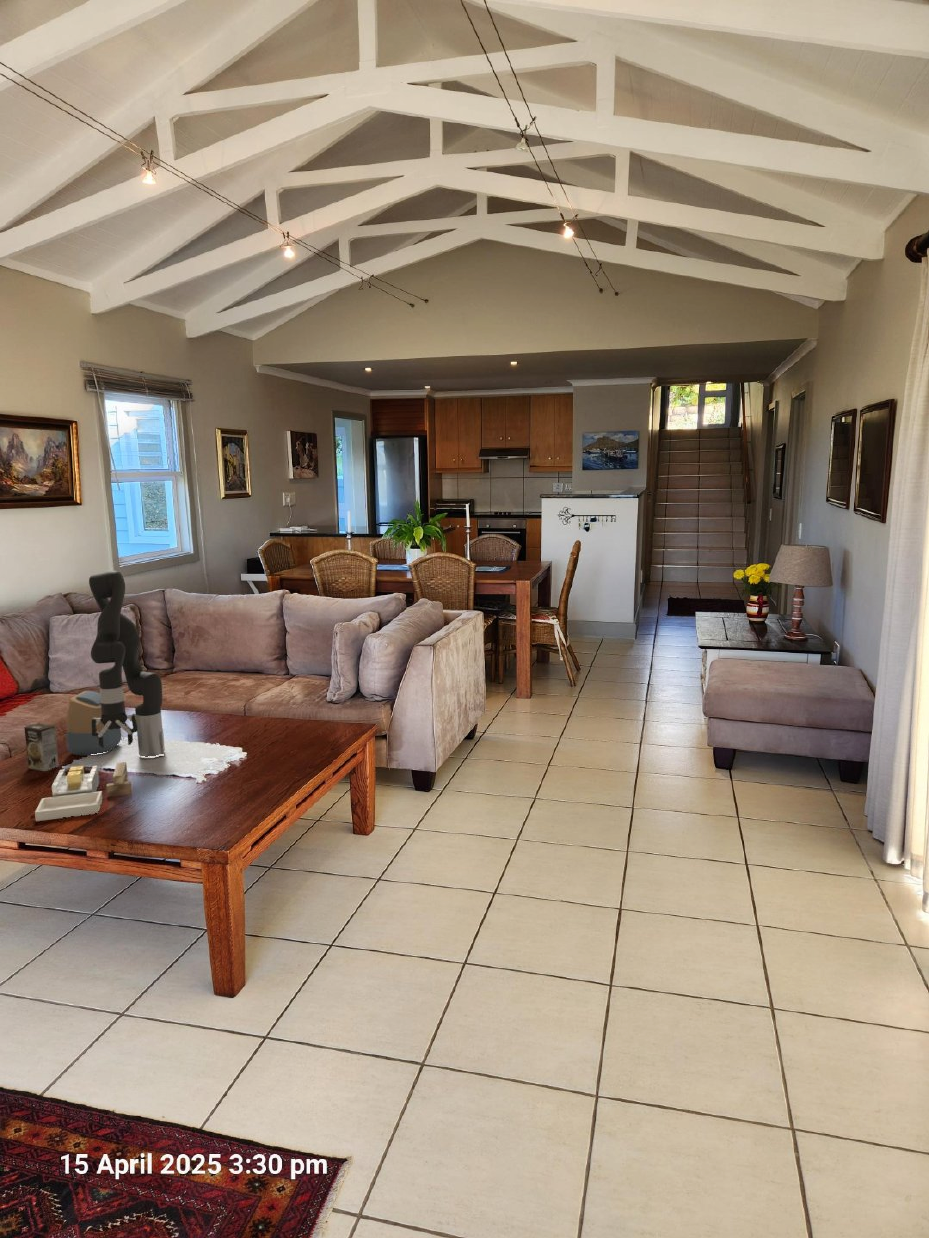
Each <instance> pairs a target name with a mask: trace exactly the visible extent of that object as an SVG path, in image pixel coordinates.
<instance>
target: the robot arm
mask: <svg viewBox="0 0 929 1238" xmlns="http://www.w3.org/2000/svg"><path fill="white" fill-rule="evenodd" d="M88 584H89V588H90V591H91V594H92V596H93V597H94V600H95V602H96V604H97V606H98V608H99V610H100V612H101V613H100V614H99V616H98V619H97V633H96V637H95V640H94V641H93V644H92V645H91V648H90V650H91V651H90V658H91V660H92V661H93V662H94V663H95V664H110V663H111V664H113V663H114V665H113V666H112V667H109V668H105V669H103V670H100V672H99V674H98V678H99V679H98V680H99V693H100V703H101V714H102V716H101V718H96V717H93V719H92V736H97V737H98V739H99V746H101V748H103V747H104V736H103V734H104V732H105V731H106V730H107V728H108V729H110V730H112V729H122V730H123V731H125V733H127V742H128V743H127V744H128V746H130V745H131V744H133V742H134V738H133V737H134V736H133V735H134V733H136V734H137V735H136V736H137V747H138V756H139V755H140V756H145V757H148V756H156V755H159V754H164V751H165V752H166V749H165V737H164V735H165V734H164V728H163V718H162V706H163V705H162V704H163V682H162V678H161V677H160V675H159V674H158V673H156V672H150V671H144V670H143V668H142V666H141V664H140V661H139V654H140V649H141V637H140V634H139V631H138V629H137V626H136V624H135V623H134V622H133V621H132V620H131V619H130V618H129V617H127V616H126V615H124V614H123V613H122V609H123V603H124V600H125V599H124V598H125V594H126V583H125V579H124V577H123V574H122V573H121V572H120V571H119V570H110V571H105V572H102V573H97V574H92V575H90V577H89V578H88ZM109 598H110V599H109ZM122 673H124V678H125V681H126V684H127V687H128V690H129V691H130V693H132V694H133V695H136V696H140V697H142V703H140V704H137V705H136V706H135V710H134V711H135V713H132V714H128V715H127V712H126V701H125V691H124V687H123V674H122ZM127 720H129V721H130V722H131V724H132V728H131V727H130V726H129V725H128V724H127V723H126V722H127ZM99 721H101V722H102V723H103V725H104V726H103V728H102V729H101V731H100V732H97V724H98V723H99ZM164 755H165V754H164Z"/></svg>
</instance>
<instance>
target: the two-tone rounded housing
mask: <svg viewBox="0 0 929 1238" xmlns="http://www.w3.org/2000/svg"><path fill="white" fill-rule="evenodd" d="M101 716H102V714H101V703H100V692H97V691H93V690H84V691H82V692H80V693H78V694H76V695H75V696H72V697H70V700H69V702H68V709H67V718H66V719H67V720H66V732H65V735H66V736H65V737H66V748H67V750H68V752H70V753H71V754H72V755H75V756H92V755H91V754H97V753H103V752H107V751H109V750H110V749H111V748H113V747H114V748H116V747H117V746H118V745H119V743H120V742H121V740H122V739H121V738H122V731H121V729H122V728H120V729H112V730H110V729H108V728H107V730H106V731H105V732H104V734H103V736H104V747H103V748H101V746H99V739H98V737H97V736H92V719H93V717H96V718H101ZM103 726H104V725H103V723H102V722H101V721H99V723H98V724H97V732H100V731H101V729H102V728H103ZM117 744H118V745H117ZM116 745H117V746H116ZM115 746H116V747H115ZM114 748H113V749H114ZM111 750H112V749H111ZM111 750H110V751H111ZM110 751H109V752H110ZM107 753H108V752H107Z"/></svg>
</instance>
